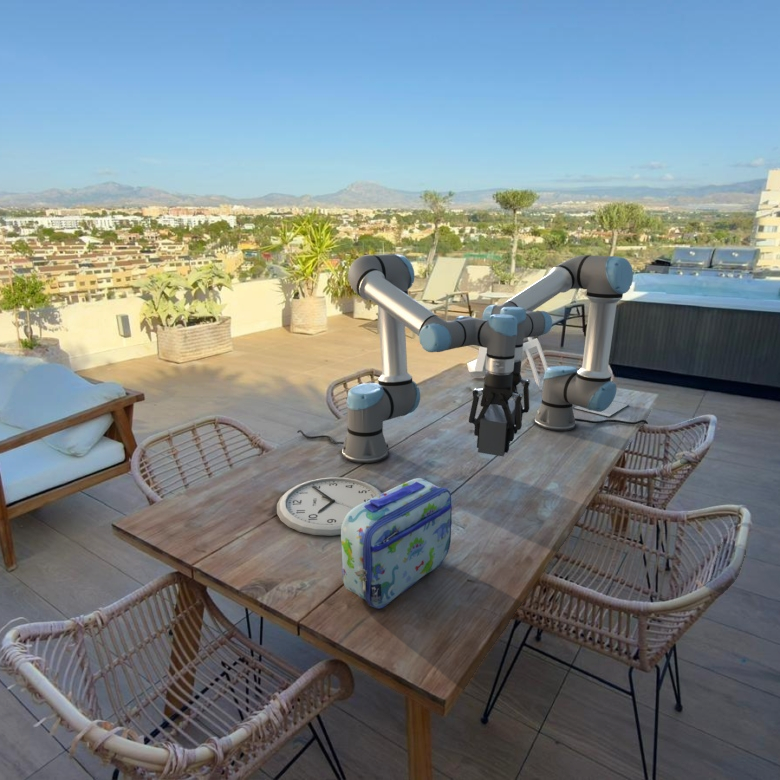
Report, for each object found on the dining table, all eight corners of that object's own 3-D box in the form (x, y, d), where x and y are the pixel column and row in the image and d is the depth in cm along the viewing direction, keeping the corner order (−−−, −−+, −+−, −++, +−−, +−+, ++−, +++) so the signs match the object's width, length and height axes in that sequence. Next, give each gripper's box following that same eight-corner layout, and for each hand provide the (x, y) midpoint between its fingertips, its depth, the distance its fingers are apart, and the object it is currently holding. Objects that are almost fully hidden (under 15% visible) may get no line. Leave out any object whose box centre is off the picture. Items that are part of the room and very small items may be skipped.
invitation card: (608, 416, 214) (573, 407, 224) (608, 416, 214) (573, 408, 224) (628, 404, 229) (594, 396, 238) (628, 405, 229) (594, 397, 238)
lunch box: (370, 622, 101) (370, 527, 94) (335, 595, 108) (333, 505, 102) (455, 565, 118) (460, 481, 112) (420, 544, 125) (423, 465, 119)
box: (492, 427, 168) (495, 397, 165) (515, 430, 165) (518, 400, 162) (477, 452, 149) (480, 419, 146) (503, 456, 146) (506, 423, 143)
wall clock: (392, 527, 129) (268, 531, 127) (391, 533, 130) (269, 537, 127) (383, 473, 158) (282, 475, 155) (383, 478, 158) (282, 480, 156)
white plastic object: (488, 419, 266) (468, 396, 241) (469, 346, 288) (449, 319, 263) (559, 395, 254) (545, 368, 229) (533, 321, 276) (519, 290, 251)
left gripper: (459, 370, 144) (455, 447, 150) (535, 379, 136) (526, 459, 143) (466, 364, 150) (461, 438, 157) (538, 372, 143) (530, 449, 150)
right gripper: (472, 358, 157) (468, 429, 164) (542, 365, 150) (534, 439, 157) (478, 353, 164) (473, 421, 171) (544, 360, 157) (537, 431, 164)
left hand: (492, 448), depth 150 cm, fingers closed on box, 7 cm apart
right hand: (502, 430), depth 164 cm, fingers closed on box, 7 cm apart
